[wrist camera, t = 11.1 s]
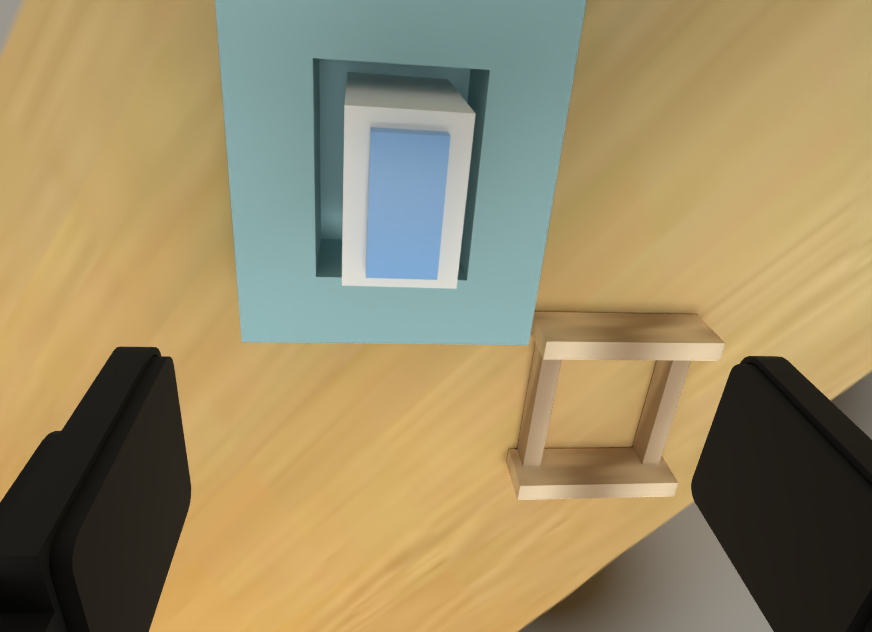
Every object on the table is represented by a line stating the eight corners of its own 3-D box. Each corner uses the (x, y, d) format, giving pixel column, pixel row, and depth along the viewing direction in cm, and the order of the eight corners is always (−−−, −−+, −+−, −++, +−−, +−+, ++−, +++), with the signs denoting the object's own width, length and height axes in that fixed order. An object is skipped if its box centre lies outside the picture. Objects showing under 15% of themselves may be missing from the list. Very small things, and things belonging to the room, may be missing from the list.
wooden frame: (696, 314, 34) (725, 343, 31) (652, 460, 38) (673, 496, 36) (531, 311, 33) (546, 341, 30) (506, 462, 37) (517, 499, 35)
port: (550, -24, 25) (590, -22, 21) (504, 297, 32) (528, 349, 28) (237, -51, 24) (210, -55, 19) (258, 292, 30) (242, 346, 26)
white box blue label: (447, 78, 26) (478, 117, 19) (435, 220, 29) (458, 296, 22) (347, 71, 25) (343, 108, 19) (345, 216, 28) (341, 293, 21)
